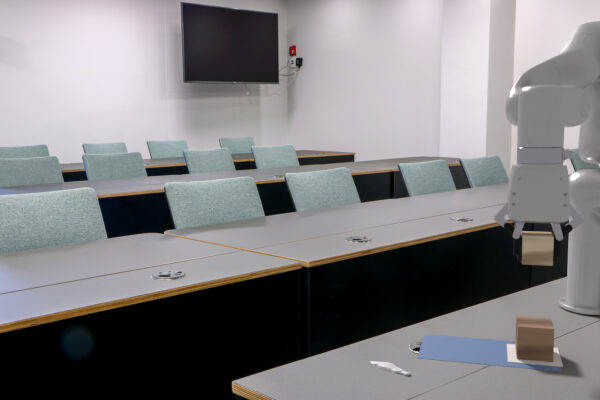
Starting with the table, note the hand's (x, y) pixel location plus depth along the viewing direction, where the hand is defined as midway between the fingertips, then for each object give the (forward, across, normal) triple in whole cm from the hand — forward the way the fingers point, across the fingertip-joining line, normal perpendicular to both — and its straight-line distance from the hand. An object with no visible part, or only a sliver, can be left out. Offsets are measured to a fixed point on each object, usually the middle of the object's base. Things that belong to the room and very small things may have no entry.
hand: (536, 259), depth 111 cm
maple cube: (0, 0, 0) cm, 0 cm away
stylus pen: (+19, +27, +10) cm, 34 cm away
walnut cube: (+18, 0, 0) cm, 18 cm away
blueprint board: (+19, +8, 0) cm, 20 cm away
